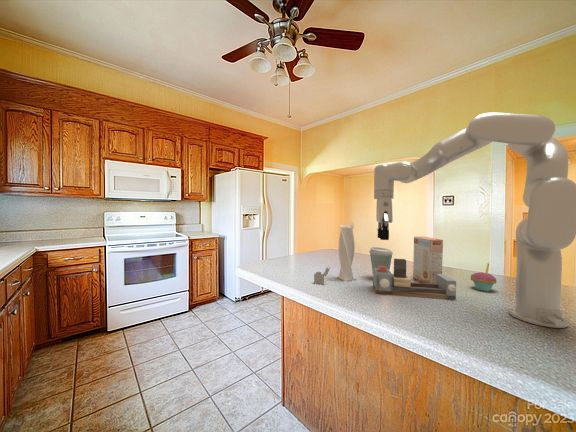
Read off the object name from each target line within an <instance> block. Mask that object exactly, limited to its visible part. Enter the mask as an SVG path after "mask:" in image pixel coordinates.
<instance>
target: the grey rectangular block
mask: <svg viewBox="0 0 576 432" xmlns="http://www.w3.org/2000/svg"><path fill="white" fill-rule="evenodd" d="M436 284H438V289H444V290H446V295H447V299H446V300H449V299H448V295H451V296H452V297H453V296H456V297H457V281H456V280H455V279H453V278H452V277H450V276H448V275H446V274H445V273H442V274H436ZM452 297H451V299H452ZM449 298H450V296H449ZM451 299H450V300H451ZM452 300H453V301H455V300H454V297H453V299H452Z"/></svg>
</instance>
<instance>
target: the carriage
mask: <svg viewBox="0 0 576 432" xmlns="http://www.w3.org/2000/svg"><path fill="white" fill-rule="evenodd" d="M392 274H393V286H397V287H411V281H412V280H411V278H409V277H408V275H407V259H405V258H393V273H392Z"/></svg>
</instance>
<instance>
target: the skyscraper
mask: <svg viewBox="0 0 576 432" xmlns="http://www.w3.org/2000/svg"><path fill="white" fill-rule="evenodd" d="M339 229H340V230H339V231H340V233H339V238H338V257H339V258H338V260H339V264H340V270H339V273H338V276H337V277H336V279H338V278H339V280H340V279H341V281H343V282H345V281H346V282H352V280H354V281H357V280H358V279H356V278H354V274H353V269H352V265H353V261H354V255H355V238H354V230H353V229H354V223H353V222H350V225H349V224H344V225H343V224H341V225H339Z"/></svg>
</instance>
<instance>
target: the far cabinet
mask: <svg viewBox="0 0 576 432" xmlns="http://www.w3.org/2000/svg"><path fill="white" fill-rule="evenodd" d="M393 274H394V273H392V272H391V271H389V270H388V269H387V272H378V268H373V271H372V286H373V285H374V286H375V288H376V290H383V291H393ZM376 293H377V291H376V292H375V294H376ZM387 293H388V292H387ZM387 293H386V294H387ZM386 294H385V295H386ZM388 294H389V293H388ZM377 295H384V294H383V293H382V294H381V293H380V294H379V292H378V294H377ZM389 296H393V295H392V293H390V295H389Z"/></svg>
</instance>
